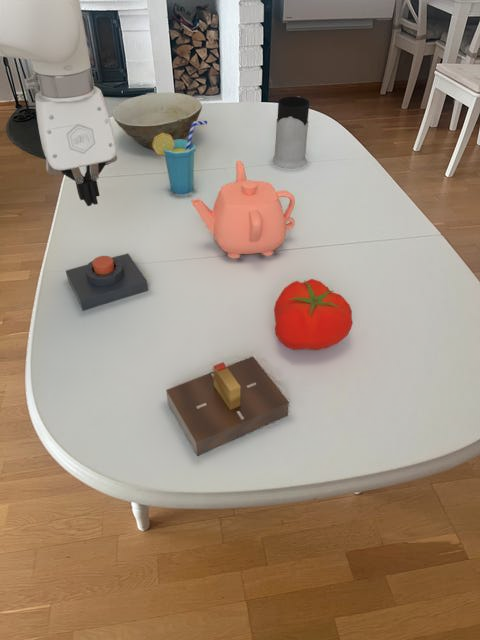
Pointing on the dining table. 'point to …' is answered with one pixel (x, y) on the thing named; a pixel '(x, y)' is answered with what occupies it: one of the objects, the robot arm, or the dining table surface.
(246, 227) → the teapot
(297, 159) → the glass holder
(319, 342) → the tomato
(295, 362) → the dining table surface
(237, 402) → the lock knob
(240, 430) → the plate
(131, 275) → the button box
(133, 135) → the bowl
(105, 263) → the round orange push button
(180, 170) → the cup
